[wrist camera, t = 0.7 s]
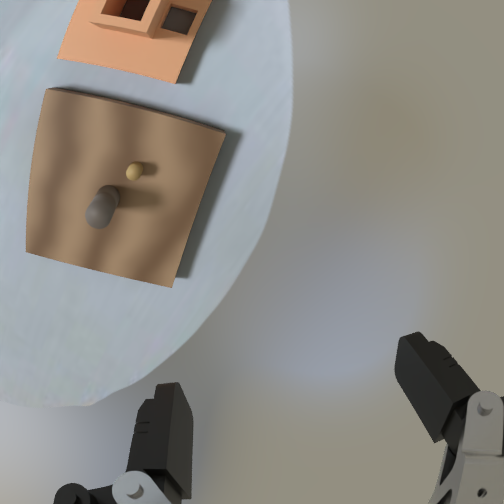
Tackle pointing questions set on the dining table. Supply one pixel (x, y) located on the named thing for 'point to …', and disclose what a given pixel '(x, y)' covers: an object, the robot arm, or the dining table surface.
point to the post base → (116, 185)
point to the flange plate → (131, 37)
